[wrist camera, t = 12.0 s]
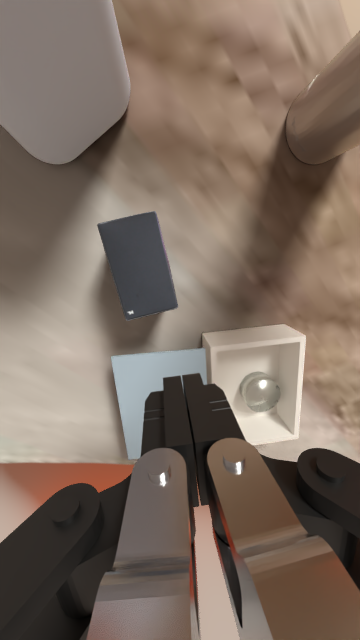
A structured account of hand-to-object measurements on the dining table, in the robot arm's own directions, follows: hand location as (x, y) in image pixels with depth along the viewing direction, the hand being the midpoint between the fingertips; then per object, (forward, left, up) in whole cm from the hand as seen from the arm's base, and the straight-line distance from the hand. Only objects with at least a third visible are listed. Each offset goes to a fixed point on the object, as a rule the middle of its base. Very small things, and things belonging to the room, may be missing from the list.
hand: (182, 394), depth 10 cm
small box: (0, -4, -28) cm, 29 cm away
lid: (+8, +15, -22) cm, 28 cm away
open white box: (-5, +21, -28) cm, 35 cm away
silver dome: (-6, +23, -28) cm, 37 cm away
